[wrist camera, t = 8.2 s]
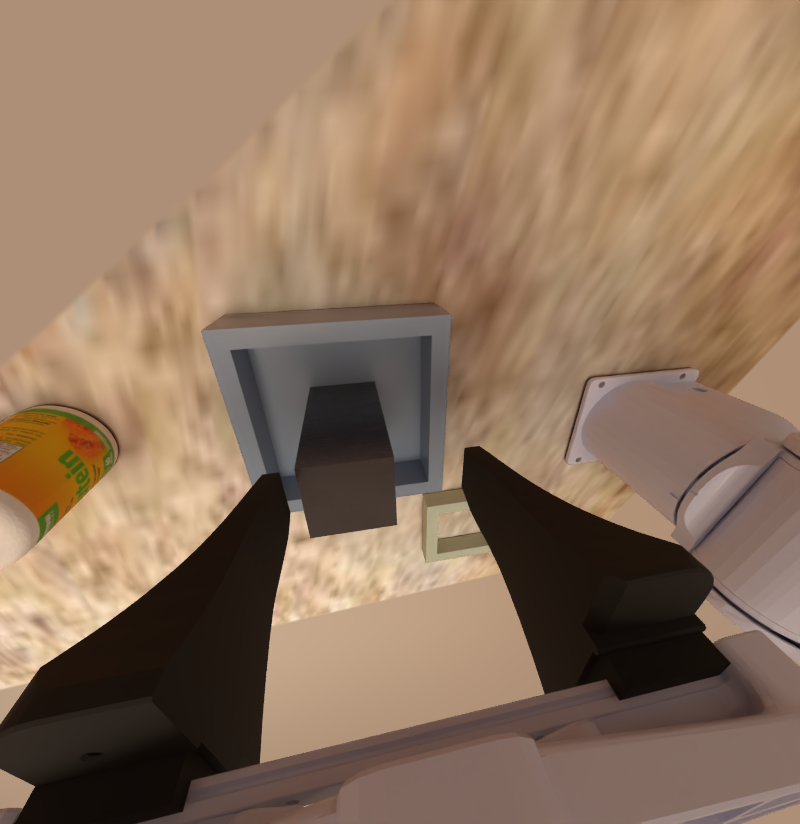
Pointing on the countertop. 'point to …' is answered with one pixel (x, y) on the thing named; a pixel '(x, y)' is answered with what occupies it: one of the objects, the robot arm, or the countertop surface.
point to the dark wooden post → (345, 461)
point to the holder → (454, 545)
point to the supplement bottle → (46, 472)
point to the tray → (335, 382)
